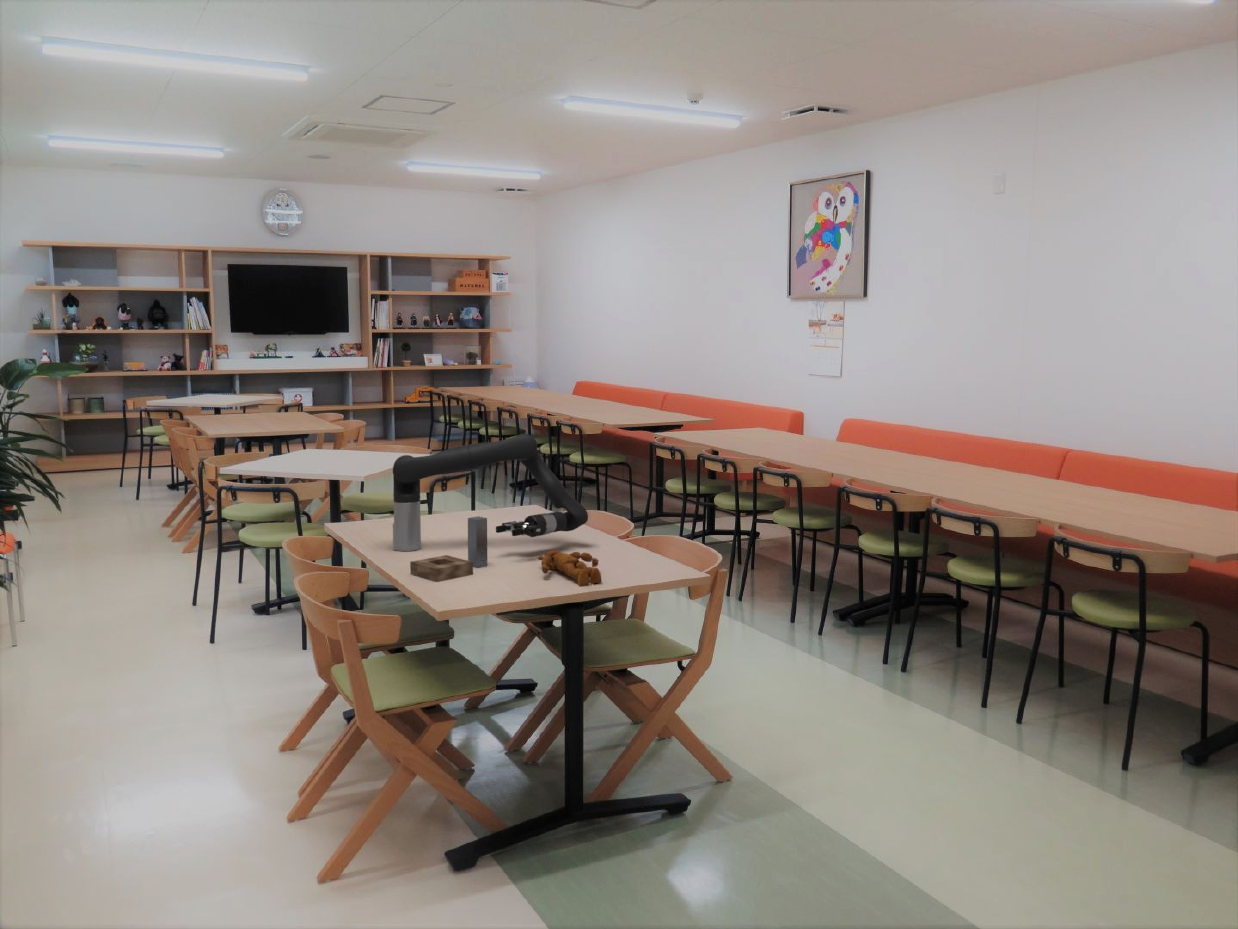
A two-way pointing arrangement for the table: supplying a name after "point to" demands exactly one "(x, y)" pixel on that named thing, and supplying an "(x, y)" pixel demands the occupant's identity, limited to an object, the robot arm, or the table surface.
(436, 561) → the wooden block with hole
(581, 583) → the toy
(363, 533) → the table surface
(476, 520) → the post
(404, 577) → the table surface
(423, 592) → the table surface
